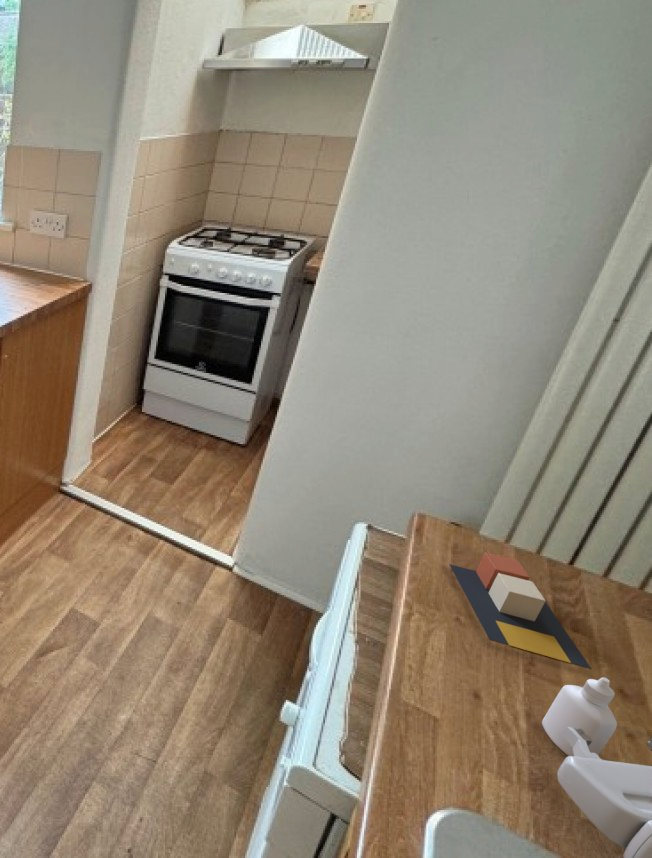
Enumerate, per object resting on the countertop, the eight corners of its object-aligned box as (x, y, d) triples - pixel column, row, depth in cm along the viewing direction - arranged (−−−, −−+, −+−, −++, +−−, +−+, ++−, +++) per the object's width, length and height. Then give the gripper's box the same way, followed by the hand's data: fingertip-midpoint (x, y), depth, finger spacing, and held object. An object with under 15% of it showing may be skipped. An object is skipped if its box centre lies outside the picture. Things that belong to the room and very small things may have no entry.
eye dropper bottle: (584, 736, 81) (624, 673, 76) (594, 771, 77) (638, 706, 72) (539, 717, 83) (575, 654, 79) (547, 749, 79) (586, 686, 75)
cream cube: (522, 601, 102) (532, 581, 100) (534, 621, 98) (545, 600, 96) (488, 592, 103) (498, 572, 102) (499, 611, 100) (509, 591, 98)
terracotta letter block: (507, 579, 106) (517, 559, 105) (519, 597, 102) (529, 577, 101) (475, 571, 108) (484, 551, 106) (485, 588, 104) (495, 568, 103)
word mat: (533, 588, 105) (535, 585, 105) (590, 672, 90) (592, 669, 90) (447, 566, 110) (449, 563, 110) (488, 642, 95) (490, 639, 94)
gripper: (878, 867, 59) (720, 730, 72) (645, 834, 62) (532, 707, 75) (841, 903, 62) (694, 764, 75) (617, 870, 64) (513, 741, 77)
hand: (612, 735), depth 75 cm, fingers open, 8 cm apart
